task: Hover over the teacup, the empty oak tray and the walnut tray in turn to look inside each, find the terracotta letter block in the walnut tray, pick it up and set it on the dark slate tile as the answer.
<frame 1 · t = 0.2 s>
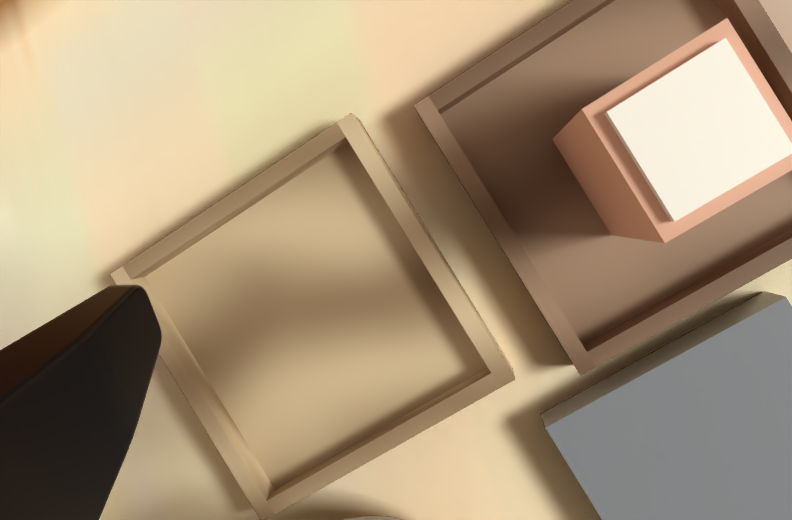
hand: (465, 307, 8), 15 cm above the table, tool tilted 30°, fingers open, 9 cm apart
letter block: (632, 156, 21), resting on walnut tray
walnut tray: (629, 157, 22), on the table
oak tray: (315, 317, 24), on the table
slate tile: (714, 460, 22), on the table
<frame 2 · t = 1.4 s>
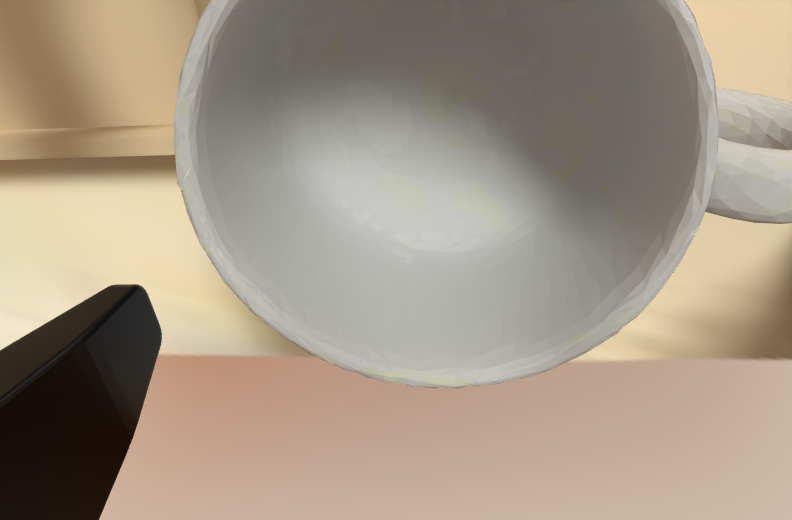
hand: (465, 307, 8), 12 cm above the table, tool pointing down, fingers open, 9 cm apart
teacup: (493, 75, 19), on the table
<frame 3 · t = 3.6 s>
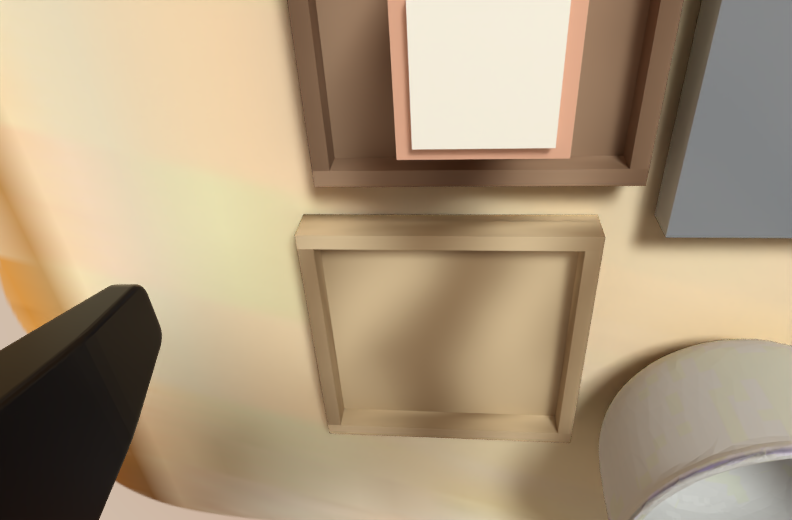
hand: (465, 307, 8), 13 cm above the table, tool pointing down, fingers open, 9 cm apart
letter block: (479, 5, 18), resting on walnut tray
walnut tray: (478, 1, 18), on the table
oak tray: (447, 325, 26), on the table
teacup: (740, 395, 27), on the table
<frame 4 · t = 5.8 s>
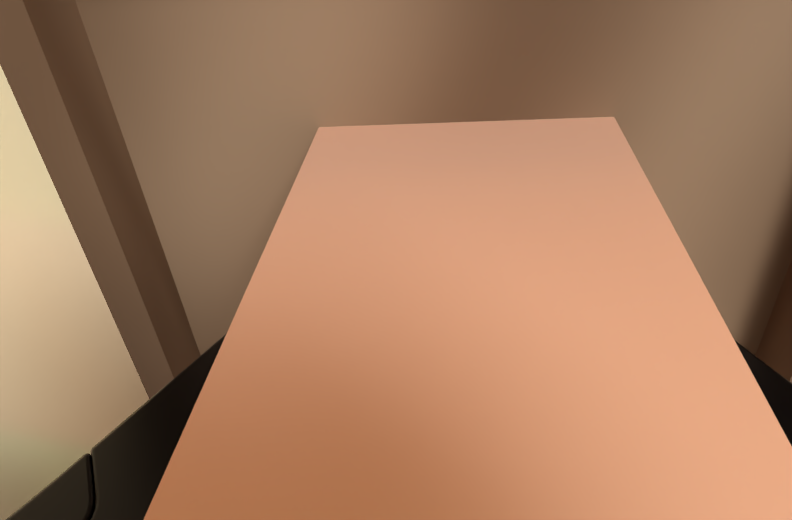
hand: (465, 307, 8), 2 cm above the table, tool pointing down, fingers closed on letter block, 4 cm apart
letter block: (463, 243, 9), resting on walnut tray, touching gripper
walnut tray: (463, 226, 10), on the table
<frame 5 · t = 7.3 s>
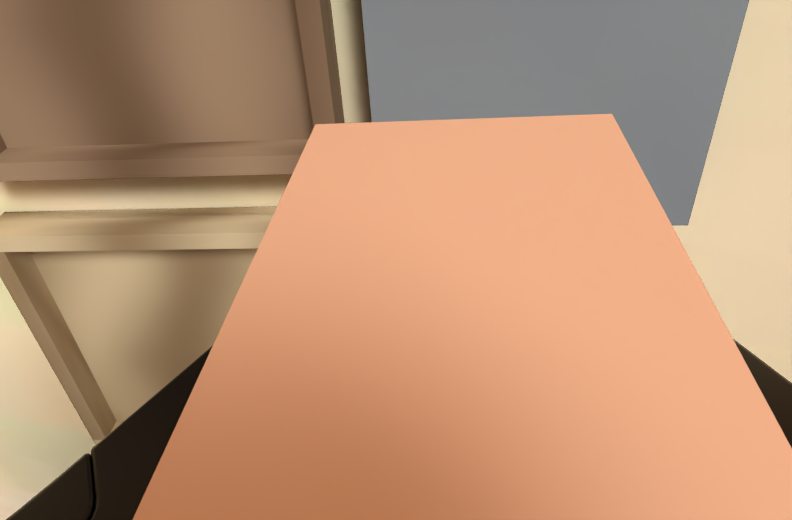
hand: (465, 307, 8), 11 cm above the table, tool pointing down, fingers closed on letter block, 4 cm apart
letter block: (461, 241, 9), point 9 cm above the table, touching gripper
oak tray: (201, 329, 24), on the table
slate tile: (537, 60, 17), on the table
when the fingers open (4 cm above the table, at t = 9.0 s): letter block drops 1 cm, resting on slate tile.
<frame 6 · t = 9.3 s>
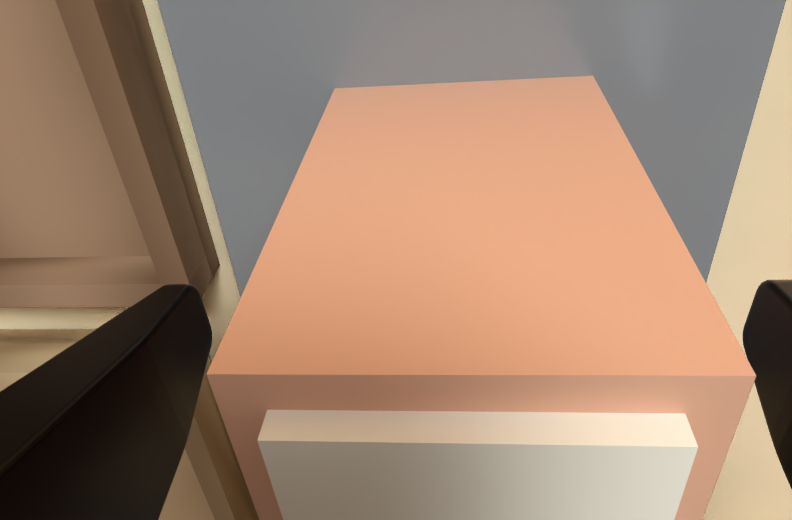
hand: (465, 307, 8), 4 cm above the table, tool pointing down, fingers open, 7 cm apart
letter block: (462, 194, 11), point 1 cm above the table, touching slate tile
oak tray: (74, 462, 19), on the table
slate tile: (461, 157, 12), on the table
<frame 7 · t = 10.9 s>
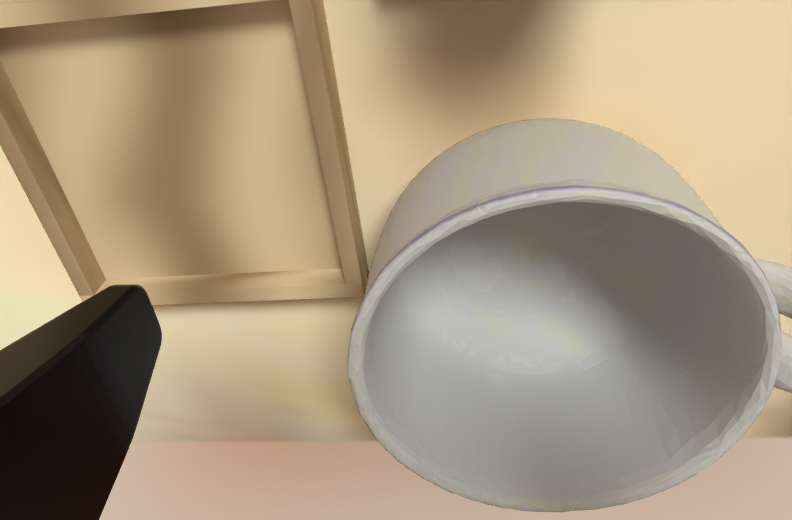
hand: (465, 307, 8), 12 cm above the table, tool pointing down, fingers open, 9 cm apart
oak tray: (190, 152, 21), on the table
teacup: (568, 225, 22), on the table
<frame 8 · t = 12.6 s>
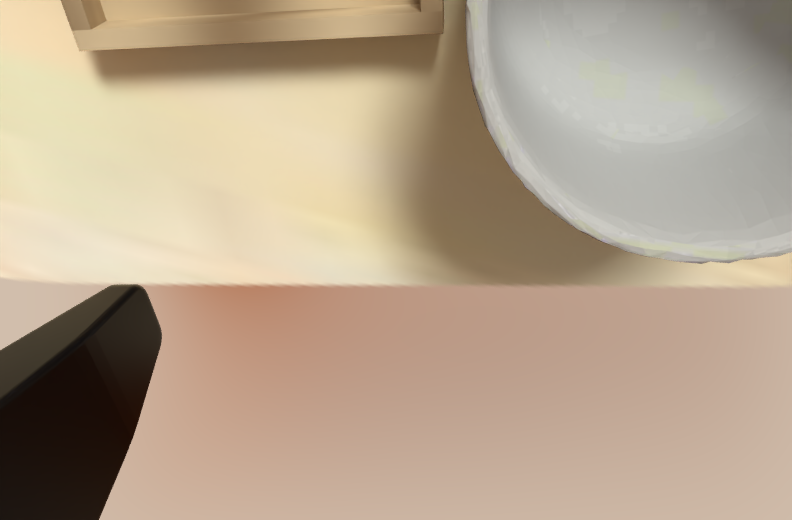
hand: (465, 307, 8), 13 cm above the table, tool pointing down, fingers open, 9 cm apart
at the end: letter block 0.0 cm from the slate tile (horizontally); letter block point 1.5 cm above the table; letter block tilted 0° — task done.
